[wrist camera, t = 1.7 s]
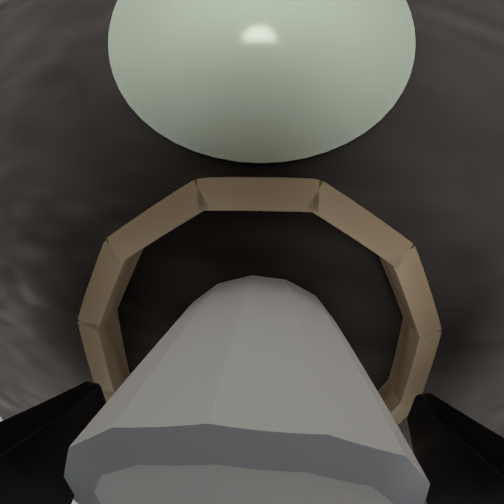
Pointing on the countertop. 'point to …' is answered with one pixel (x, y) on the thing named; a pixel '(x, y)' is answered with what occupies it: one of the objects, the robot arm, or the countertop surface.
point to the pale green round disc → (261, 71)
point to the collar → (264, 199)
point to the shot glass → (247, 413)
